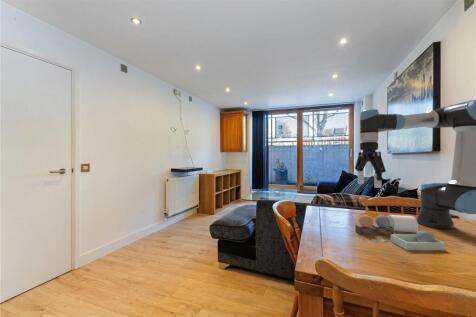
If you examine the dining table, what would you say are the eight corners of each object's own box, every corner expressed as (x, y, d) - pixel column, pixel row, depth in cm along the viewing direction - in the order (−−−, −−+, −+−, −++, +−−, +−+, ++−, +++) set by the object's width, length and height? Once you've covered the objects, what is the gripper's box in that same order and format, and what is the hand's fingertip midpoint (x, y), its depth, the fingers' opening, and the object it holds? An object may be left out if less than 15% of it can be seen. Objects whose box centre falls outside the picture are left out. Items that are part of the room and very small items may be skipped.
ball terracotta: (368, 225, 105) (368, 213, 105) (376, 229, 99) (376, 216, 99) (356, 225, 105) (356, 213, 105) (363, 229, 99) (363, 216, 99)
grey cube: (384, 225, 105) (384, 213, 105) (393, 229, 99) (393, 216, 99) (372, 225, 105) (372, 213, 105) (380, 229, 99) (380, 216, 99)
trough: (425, 242, 92) (425, 234, 91) (445, 251, 83) (445, 242, 83) (390, 242, 92) (390, 234, 92) (406, 251, 83) (406, 242, 83)
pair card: (383, 239, 95) (383, 237, 95) (393, 244, 89) (393, 243, 89) (366, 239, 95) (366, 237, 95) (374, 244, 89) (374, 243, 89)
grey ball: (426, 242, 90) (426, 228, 90) (439, 248, 84) (439, 233, 84) (411, 242, 90) (412, 228, 90) (424, 248, 84) (424, 233, 84)
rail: (387, 232, 104) (387, 224, 104) (393, 235, 100) (393, 227, 100) (355, 231, 104) (355, 224, 104) (359, 234, 100) (360, 227, 100)
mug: (418, 235, 100) (418, 218, 100) (394, 233, 102) (394, 217, 102) (403, 227, 112) (404, 212, 112) (382, 225, 114) (383, 211, 114)
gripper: (348, 143, 115) (347, 182, 115) (378, 140, 90) (377, 189, 90) (361, 143, 115) (361, 182, 115) (395, 139, 90) (395, 189, 90)
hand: (368, 185), depth 102 cm, fingers open, 13 cm apart
